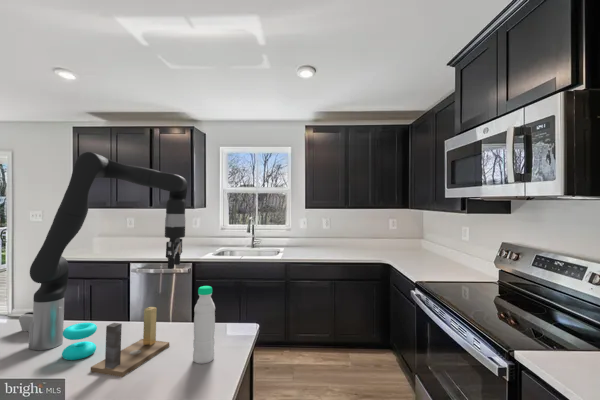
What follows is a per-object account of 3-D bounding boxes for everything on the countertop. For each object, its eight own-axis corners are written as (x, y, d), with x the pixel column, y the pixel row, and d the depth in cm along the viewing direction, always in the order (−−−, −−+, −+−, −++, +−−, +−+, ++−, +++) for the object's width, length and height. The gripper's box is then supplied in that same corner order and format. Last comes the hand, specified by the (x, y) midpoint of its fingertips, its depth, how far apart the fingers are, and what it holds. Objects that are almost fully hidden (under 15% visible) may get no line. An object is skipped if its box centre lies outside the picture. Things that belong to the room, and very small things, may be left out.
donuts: (82, 320, 120) (103, 323, 117) (82, 347, 119) (102, 351, 116) (55, 329, 110) (77, 333, 107) (54, 359, 110) (76, 363, 107)
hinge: (62, 331, 134) (55, 311, 131) (51, 339, 130) (43, 318, 127) (34, 326, 139) (27, 306, 136) (23, 333, 135) (14, 313, 132)
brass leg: (148, 341, 121) (149, 306, 121) (155, 342, 120) (156, 307, 121) (143, 344, 118) (144, 309, 118) (150, 345, 117) (151, 309, 118)
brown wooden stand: (142, 342, 124) (143, 304, 124) (169, 346, 121) (170, 307, 121) (90, 371, 101) (92, 325, 102) (122, 377, 99) (123, 329, 99)
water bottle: (218, 356, 113) (219, 285, 114) (206, 366, 106) (207, 290, 107) (201, 353, 115) (203, 283, 116) (188, 362, 109) (190, 288, 109)
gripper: (170, 224, 133) (169, 263, 133) (159, 226, 119) (158, 270, 119) (189, 224, 134) (188, 263, 134) (180, 226, 120) (179, 269, 119)
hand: (174, 266), depth 126 cm, fingers open, 8 cm apart
